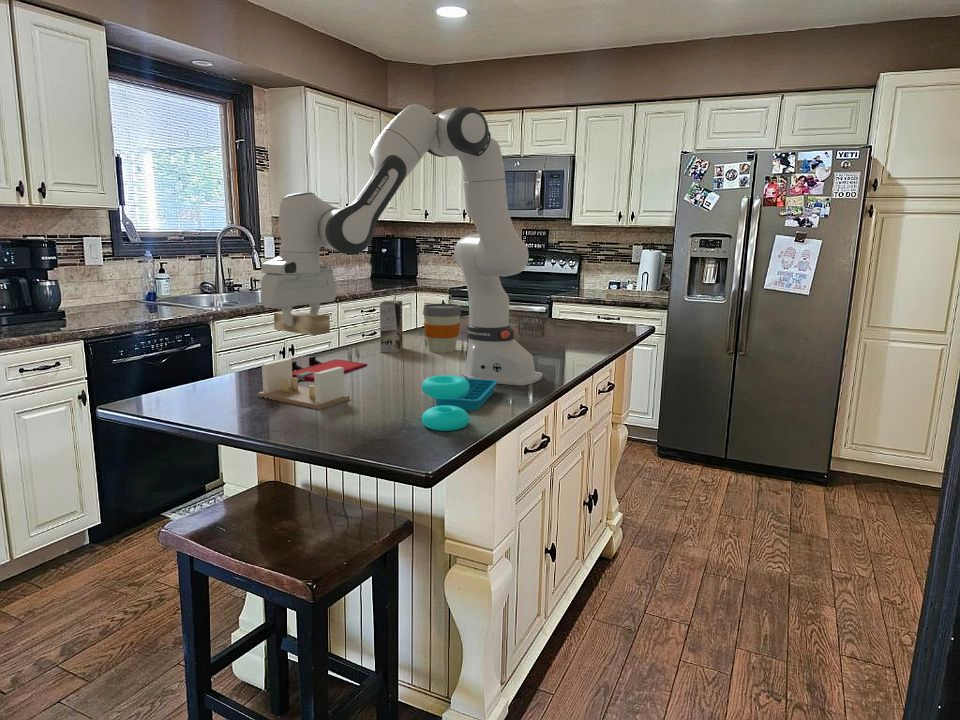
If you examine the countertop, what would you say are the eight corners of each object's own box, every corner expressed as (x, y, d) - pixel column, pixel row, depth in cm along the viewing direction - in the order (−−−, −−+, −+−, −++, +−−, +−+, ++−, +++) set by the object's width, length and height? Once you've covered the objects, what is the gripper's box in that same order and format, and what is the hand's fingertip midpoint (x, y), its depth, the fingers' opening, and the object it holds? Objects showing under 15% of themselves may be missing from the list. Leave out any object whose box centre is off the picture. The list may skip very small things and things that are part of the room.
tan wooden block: (274, 329, 151) (273, 312, 151) (290, 327, 156) (290, 310, 155) (314, 335, 145) (313, 317, 144) (329, 332, 149) (329, 315, 148)
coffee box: (399, 353, 208) (399, 303, 205) (379, 352, 208) (379, 303, 205) (403, 347, 217) (402, 300, 214) (384, 347, 217) (383, 300, 214)
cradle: (349, 399, 153) (348, 367, 151) (319, 409, 145) (318, 375, 143) (289, 388, 163) (287, 357, 161) (258, 396, 154) (256, 364, 153)
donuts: (476, 376, 136) (458, 387, 127) (476, 421, 138) (458, 435, 129) (434, 372, 139) (413, 382, 130) (434, 416, 141) (413, 429, 132)
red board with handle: (254, 382, 169) (299, 390, 163) (254, 371, 168) (299, 379, 162) (326, 362, 196) (367, 368, 190) (325, 353, 195) (367, 359, 189)
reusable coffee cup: (427, 346, 221) (427, 302, 218) (463, 347, 219) (463, 304, 216) (419, 353, 209) (418, 307, 205) (457, 354, 207) (457, 308, 204)
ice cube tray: (498, 391, 164) (498, 380, 163) (479, 413, 145) (479, 401, 144) (454, 388, 166) (455, 377, 166) (430, 409, 147) (430, 397, 147)
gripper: (322, 262, 158) (323, 318, 160) (255, 265, 140) (257, 327, 143) (341, 263, 154) (342, 320, 157) (275, 266, 137) (277, 330, 140)
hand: (301, 323), depth 150 cm, fingers closed on tan wooden block, 5 cm apart
